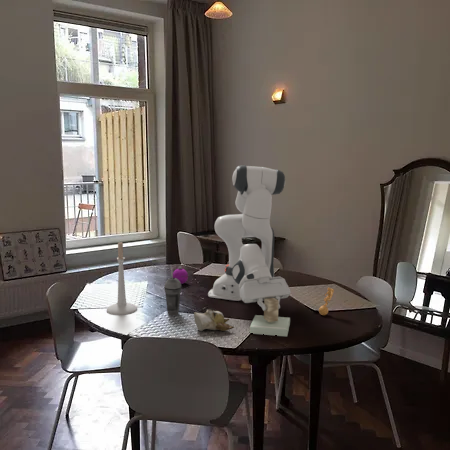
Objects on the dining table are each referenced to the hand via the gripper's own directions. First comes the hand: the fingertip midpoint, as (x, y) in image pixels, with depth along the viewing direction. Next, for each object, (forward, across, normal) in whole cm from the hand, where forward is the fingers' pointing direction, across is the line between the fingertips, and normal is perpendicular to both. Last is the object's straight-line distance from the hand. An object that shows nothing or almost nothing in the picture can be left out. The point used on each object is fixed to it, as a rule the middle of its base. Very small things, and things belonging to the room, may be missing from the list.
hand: (271, 309), depth 186 cm
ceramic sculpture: (0, +21, -12) cm, 24 cm away
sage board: (+5, 0, -6) cm, 8 cm away
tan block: (+3, 0, -4) cm, 4 cm away
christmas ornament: (-47, +12, -59) cm, 77 cm away
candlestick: (-26, +49, -37) cm, 66 cm away
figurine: (+2, -29, -10) cm, 31 cm away
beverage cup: (-16, +30, -28) cm, 44 cm away
